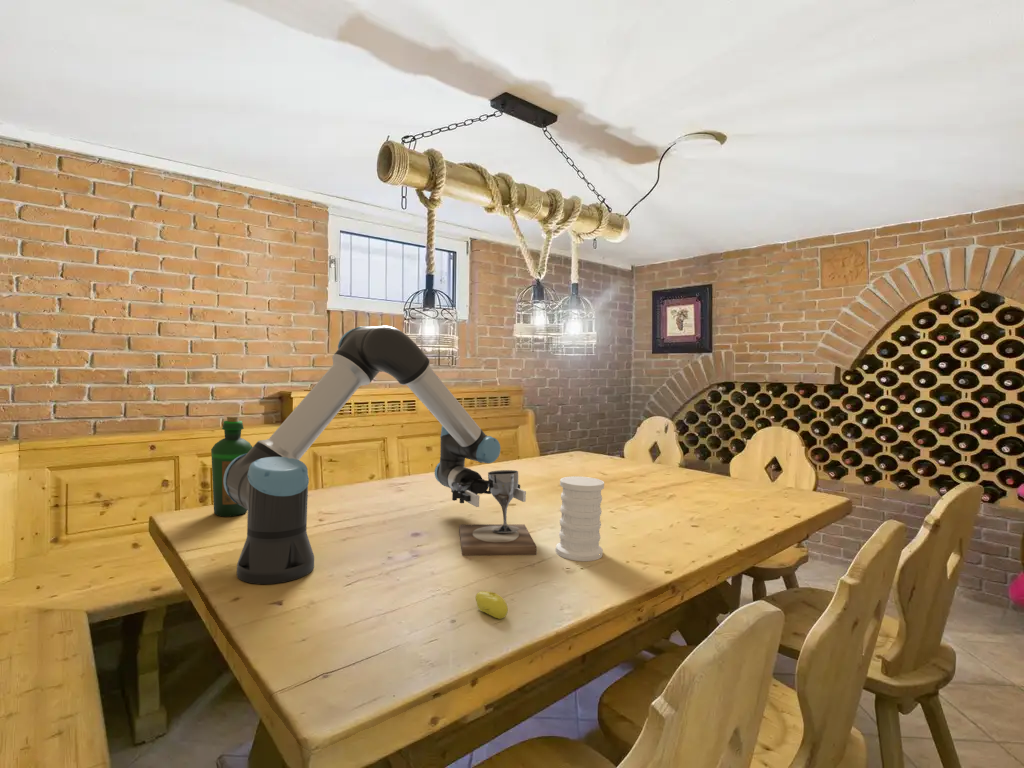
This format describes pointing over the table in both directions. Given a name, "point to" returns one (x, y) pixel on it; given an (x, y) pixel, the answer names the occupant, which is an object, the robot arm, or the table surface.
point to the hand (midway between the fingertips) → (501, 499)
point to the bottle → (221, 459)
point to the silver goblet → (503, 493)
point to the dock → (495, 540)
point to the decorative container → (580, 518)
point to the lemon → (492, 604)
